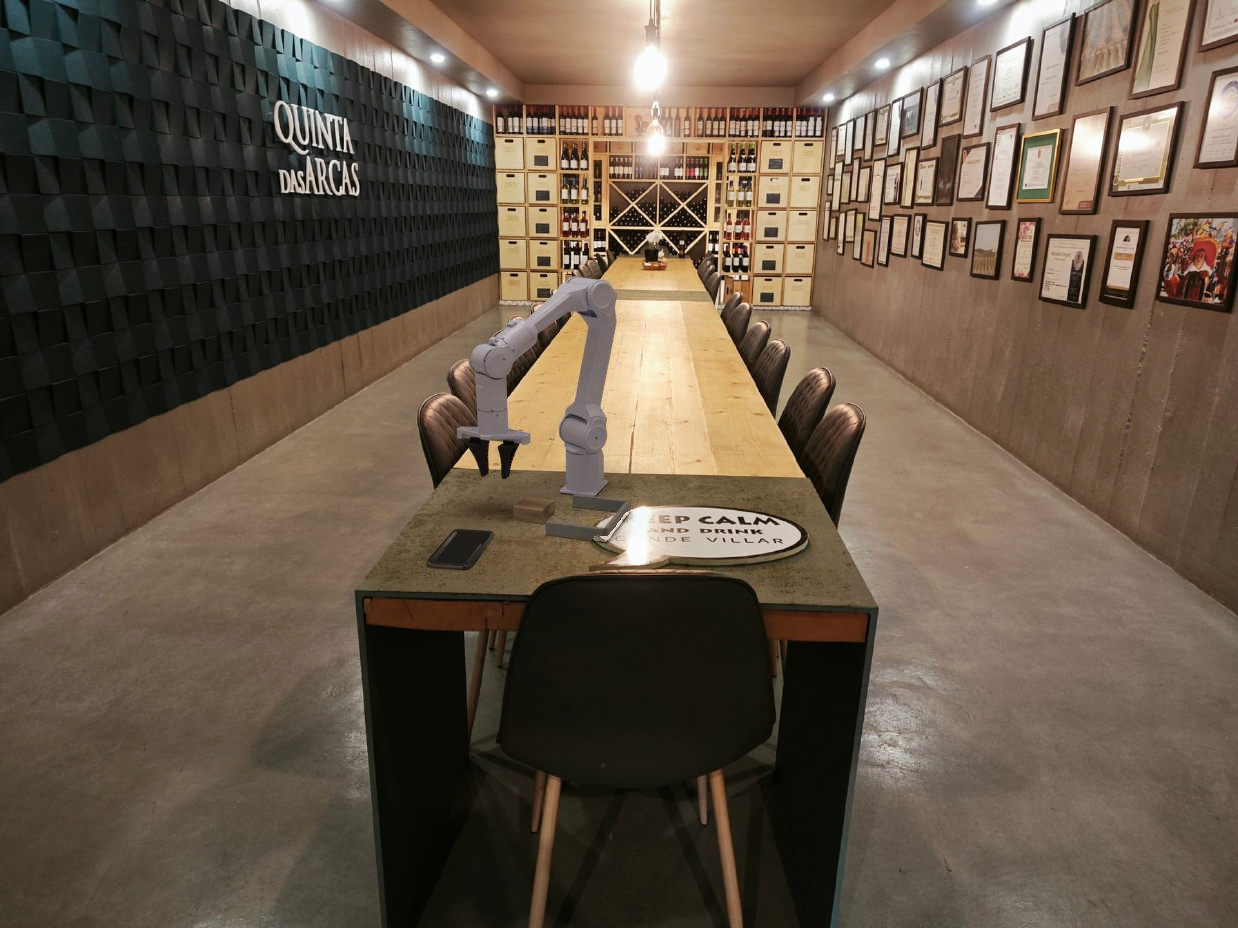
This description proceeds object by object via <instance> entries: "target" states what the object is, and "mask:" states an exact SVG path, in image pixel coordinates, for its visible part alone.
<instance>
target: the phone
mask: <svg viewBox="0 0 1238 928" xmlns="http://www.w3.org/2000/svg"><path fill="white" fill-rule="evenodd" d="M494 533H495V532H494V531H491V530H481V529H471V528H470V529H468V528H467V529H466V528H455V529H453V530H452V531H451V532H450V533H449V535H448V536H446V538H445V539H444V540H443V542H442V543H440V545H439V546H438V547H437V548H436V550H434V552H432V554H431V555H430V556H429V557H428V559H427V560H426V566H427V568H431V569H440V570H441V569H444V570H457V571H467V570H470V569H472V568H473V567H474V565H475V564H476V562H477V561H478V560H479V558H480V557H481V556H482V555H483V553H484V551H485V550H486V549H487V547H488V546H489V545H490V543H491V542H492V541H493V540H494V538H495V534H494Z"/></svg>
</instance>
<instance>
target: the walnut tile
mask: <svg viewBox="0 0 1238 928" xmlns="http://www.w3.org/2000/svg"><path fill="white" fill-rule="evenodd" d="M512 513H513V514H512V515H513V516H512V517H513V521H519V522H524V523H532V524H538V525H544V523H546V521H548V520H549V519H550V518H551V517H552V516H553V515H554V514H555V500H554V499H549V498H548V499H547V498H541V497H539V498H538V497H533V496H531V497H530V496H525V497H524V498H523V499H522V500H519V502H517V503H516V504H514V505H513V506H512ZM548 518H549V519H548Z"/></svg>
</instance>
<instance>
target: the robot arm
mask: <svg viewBox="0 0 1238 928" xmlns="http://www.w3.org/2000/svg"><path fill="white" fill-rule="evenodd" d="M617 297H618V293H617V292H616V290H615V289H614V287H613V285H612V284H611V283H610V282H609V281H608V280H606V279H601V278H600V279H594V278H588V277H582V276H578V275H577V276H572V277H571V276H570V277H569V278H568V279H566V281H565V282H563V283H561V284H559V286H558V287H557V290H556V291H555V292H554V293H553V294H552V295H551V296H550V297H549V298H548V299H547V300H546V301H545V302H544V303H543V304H541V305H540V306H538V308H537V309H536V310H535V311H534V312H533V313H532V314H531V315H530V316H528V317H527V318H526V319H525V320H524V319H521V318H518V319H515V320H514V319H511V320H509V321H508V322H507V323H506V325H507V327H505V328H504V329H503V330H502V331H501V332H499V333H498V334H496V336H491V337H490V338H489V339H488V343H484V344H483V343H481V344H479V345H477V346H476V347H475V348H473V350H472V353H471V356H470V359H468V360H467V361H468V365H469V368H470V369H471V371H473V373H474V380H475V393H476V394H475V395H476V413H477V414H476V415H477V416H476V417H477V426H459V427H457V428H456V438H457V439H461V440H462V439H469V442H467V443H466V445H467V448H468V450H469V451H470V452H471V454H472V456H473V458H474V460H475V462H476V465H477V467H478V471H479V474H480V477H481V478H483V477H486V476H488V475H489V473H490V466H489V465H490V464H489V463H490V462H489V461H490V460H489V452H490V451H489V450H490V442H491V441H493V442H499V443H500V444H499V445H497V451H498V454H499V460H500V466H501V467H500V473H501V474H500V476H501V479H502V480H506V479H507V478H509V477H510V473H511V470H512V465H513V461H514V458H515V455H516V453H517V451H518V449H519V446H520V444H521V445H523V446H527V445H529V444H530V443H531V440H532V439H531V432H525V431H522V430H521V431H520V430H516V429H512V428H509V415H508V414H509V412H508V409H509V408H508V388H507V387H508V385H507V376H508V375H509V374H510V373H511V371H512V369H513V365H514V362H516V360H518V359H519V358H520V357H521V356H522V355H523V354H525V353H526V352H527V351H528V350H530V349H531V348H532V347H533V346H535V344H537V341H538V334H540V332H542V331H543V330H545V329H546V328H548V327H549V326H550V325H552V324H554V323H555V322H556V321H557V320H559V319H560V318H562V316H564V315H565V314H567V313H570V312H572V313H573V312H575V313H577V314H578V315H579V316H580V317H581V318H582V319H583V321H584V323H585V324H586V326H587V327H588V328H587V333H586V337H585V338H586V339H585V344H584V349H583V354H582V360H581V364H580V365H581V366H580V370H579V376H578V382H577V386H576V393H575V396H574V397H575V398H574V401H573V402H572V403H571V404H570V405H569V406H567V407H566V408H565V413H564V416H563V417H562V419H561V421H560V423H559V426H558V436H559V438H560V440H561V441H562V442H563V443H564V444H563V445H564V447H563V448H565V485H563V487H561V488H560V489H559V493H561V494H571V495H574V494H578V495H587V496H595V497H597V495H598V494H599V492H600V491H602V489H604V487H605V486H606V485H607V484H609V483H608V482H609V481H608V479H607V480H606V479H605V473H604V472H605V466H604V465H605V455H604V452H603V450H602V449H603V447H604V446H605V445H606V444H607V443H606V442H607V439H608V431H607V422H608V417H607V415H606V414H605V412H604V411H603V409H602V407H601V404H602V400H603V395H604V389H605V385H606V384H605V383H606V380H607V375H608V370H609V365H610V360H611V359H610V358H611V353H612V349H613V343H614V339H615V334H616V327H617V314H616V303H617ZM501 442H502V443H501Z"/></svg>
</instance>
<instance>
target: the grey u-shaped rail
mask: <svg viewBox="0 0 1238 928" xmlns="http://www.w3.org/2000/svg"><path fill="white" fill-rule="evenodd" d="M631 504H632V503H631V499H630V500H629V499H620V498H612V497H604V496H587V495H578V494H572V508H577V509H586V510H593V511H594V510H595V511H602V512H603V511H604V512H610V511H614V512H613V513H615V514H614V515H613V516H612V517H611V519H610V520H609V521H608V523H607V524H606V525H605V526H604V527H601V526H600V527H599V526H589V525H585V524H584V525H583V524H575V523H568V522H560V521H551V520H546V521H545V535H546V536H551V537H559V538H566V539H573V540H580V541H590V542H593V541H592V539H593V538H594V536H597V535H599V536H608V535H609V534H610V532H611V531H612V530H613V529H614V528H615V527H616V525H617V523H618V522H619V521H620V520H621V518H622V517H623V515H624V514H625V513H626V512H628V511H630V510H632V509H631Z"/></svg>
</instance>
